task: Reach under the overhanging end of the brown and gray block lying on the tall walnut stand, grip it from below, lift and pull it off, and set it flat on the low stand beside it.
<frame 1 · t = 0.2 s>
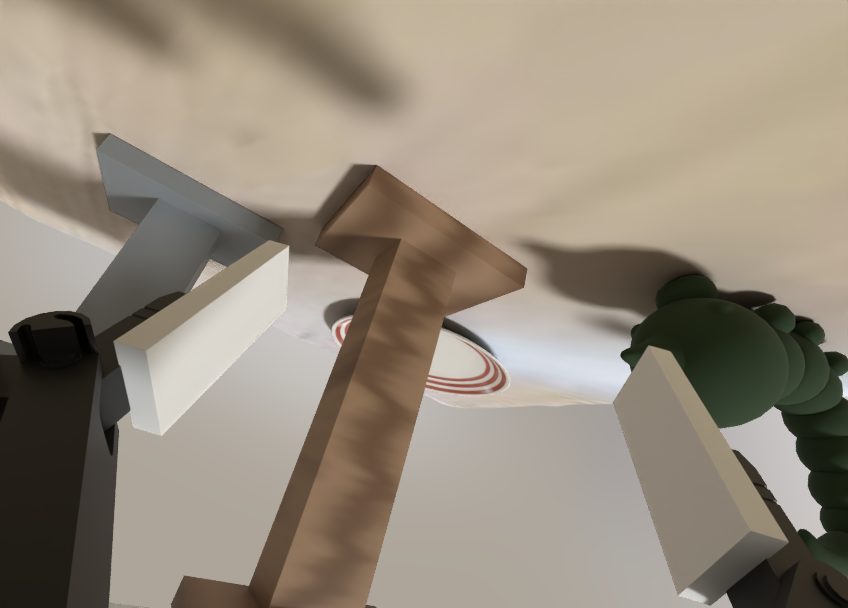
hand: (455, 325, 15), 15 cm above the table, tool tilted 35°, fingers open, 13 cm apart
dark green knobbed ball: (740, 310, 34), on the table
tall stand: (420, 248, 38), on the table
low stand: (198, 212, 43), on the table
dinner plate: (423, 343, 61), on the table
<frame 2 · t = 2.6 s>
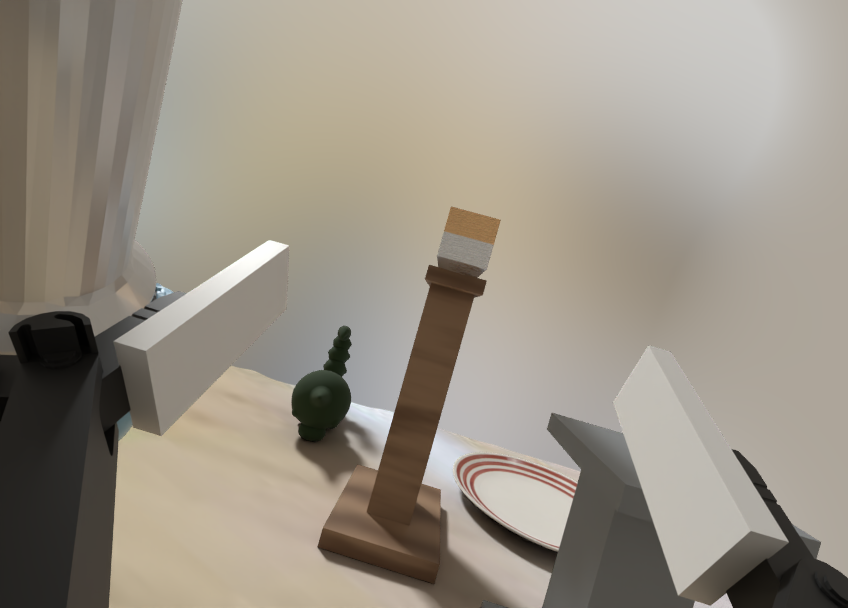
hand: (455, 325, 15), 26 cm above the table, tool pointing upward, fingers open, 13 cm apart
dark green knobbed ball: (315, 427, 71), on the table
tall stand: (386, 521, 47), on the table
brown and gray block: (456, 274, 42), point 30 cm above the table, touching tall stand
dinner plate: (534, 514, 61), on the table
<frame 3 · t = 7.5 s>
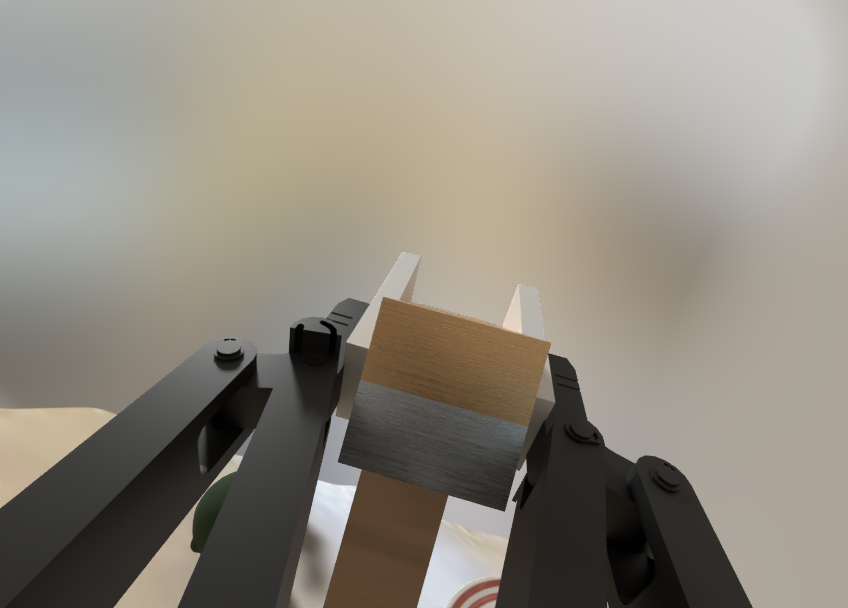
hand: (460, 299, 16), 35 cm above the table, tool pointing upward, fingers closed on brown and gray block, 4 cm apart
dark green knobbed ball: (242, 544, 49), on the table
brown and gray block: (432, 389, 20), point 30 cm above the table, touching gripper, tall stand
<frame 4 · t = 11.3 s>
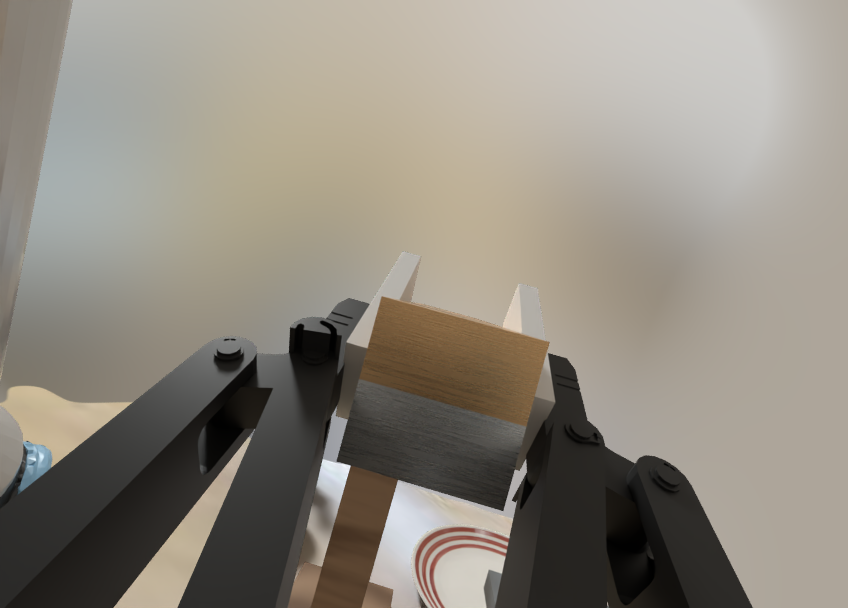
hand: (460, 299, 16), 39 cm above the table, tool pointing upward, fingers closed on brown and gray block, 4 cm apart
brown and gray block: (432, 389, 20), point 35 cm above the table, touching gripper
dinner plate: (497, 605, 57), on the table
when the fingers open (27 cm above the table, at t = 15.0 s): brown and gray block drops 2 cm, resting on low stand.
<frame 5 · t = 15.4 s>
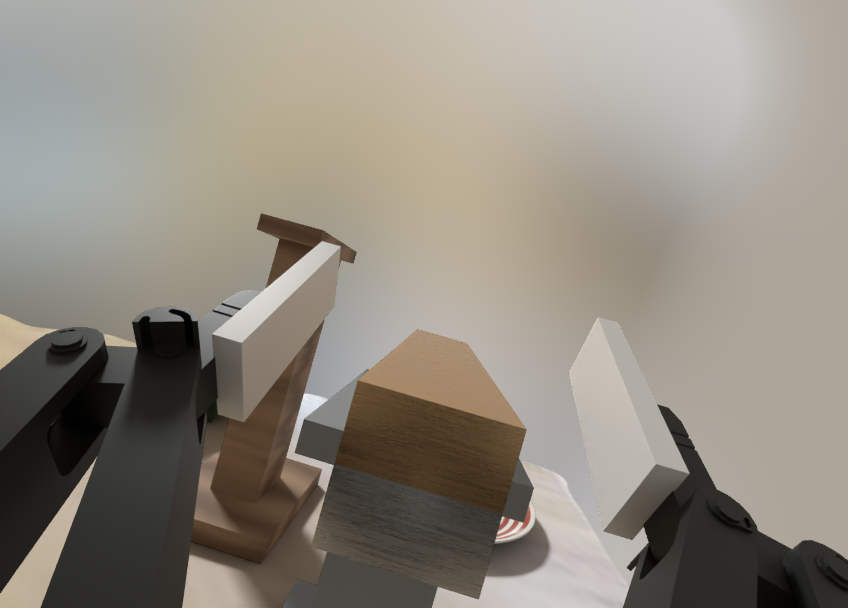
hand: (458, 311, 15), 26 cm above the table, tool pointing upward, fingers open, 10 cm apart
tall stand: (242, 500, 44), on the table
brown and gray block: (420, 428, 20), point 20 cm above the table, touching low stand
dinner plate: (434, 498, 57), on the table
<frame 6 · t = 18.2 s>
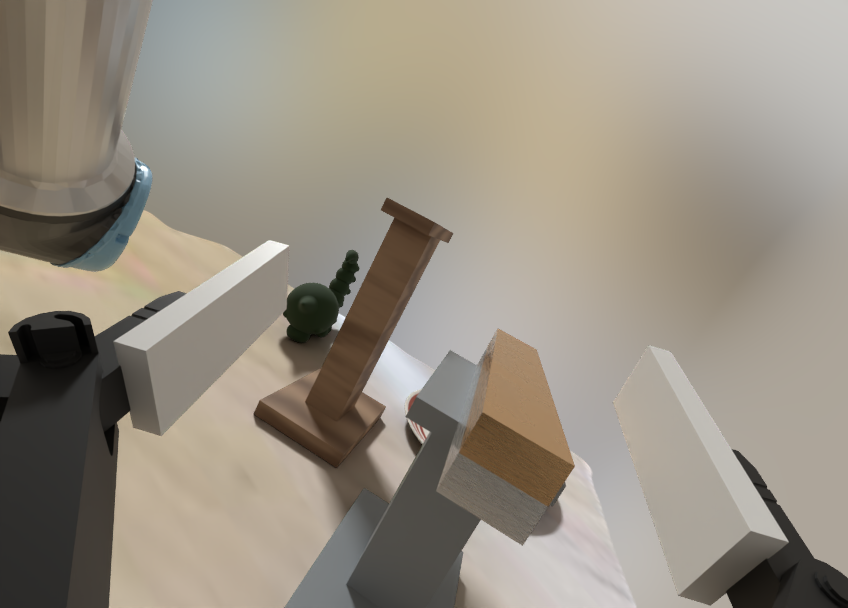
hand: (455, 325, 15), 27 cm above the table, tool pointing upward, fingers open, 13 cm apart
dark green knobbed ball: (307, 332, 79), on the table
tall stand: (324, 415, 55), on the table
brown and gray block: (490, 418, 27), point 20 cm above the table, touching low stand
low stand: (379, 594, 34), on the table
dinner plate: (471, 453, 66), on the table
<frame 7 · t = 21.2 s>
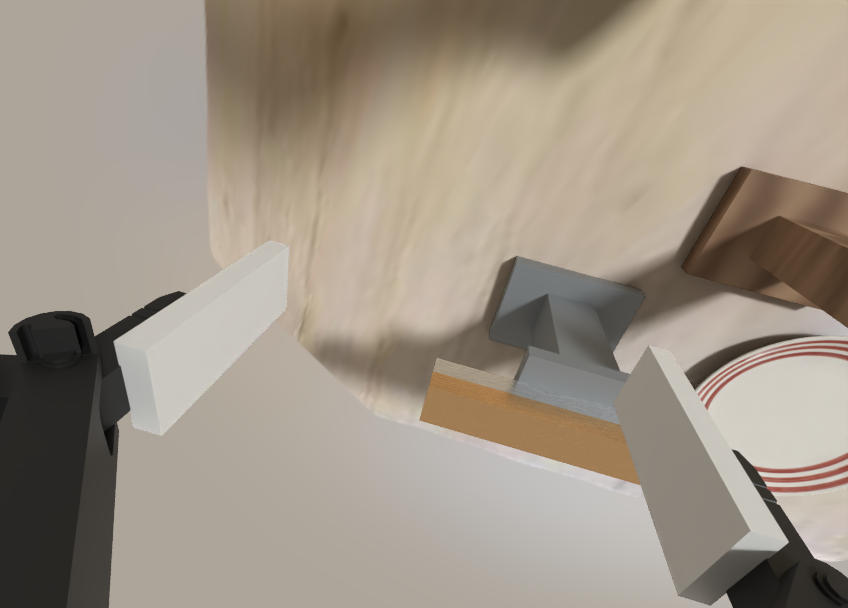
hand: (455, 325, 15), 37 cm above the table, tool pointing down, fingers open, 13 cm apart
tall stand: (780, 238, 45), on the table
brown and gray block: (547, 407, 36), point 20 cm above the table, touching low stand
low stand: (559, 311, 54), on the table
dinner plate: (783, 408, 55), on the table
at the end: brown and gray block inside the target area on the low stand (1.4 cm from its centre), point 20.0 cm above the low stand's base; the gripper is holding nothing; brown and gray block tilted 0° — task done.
